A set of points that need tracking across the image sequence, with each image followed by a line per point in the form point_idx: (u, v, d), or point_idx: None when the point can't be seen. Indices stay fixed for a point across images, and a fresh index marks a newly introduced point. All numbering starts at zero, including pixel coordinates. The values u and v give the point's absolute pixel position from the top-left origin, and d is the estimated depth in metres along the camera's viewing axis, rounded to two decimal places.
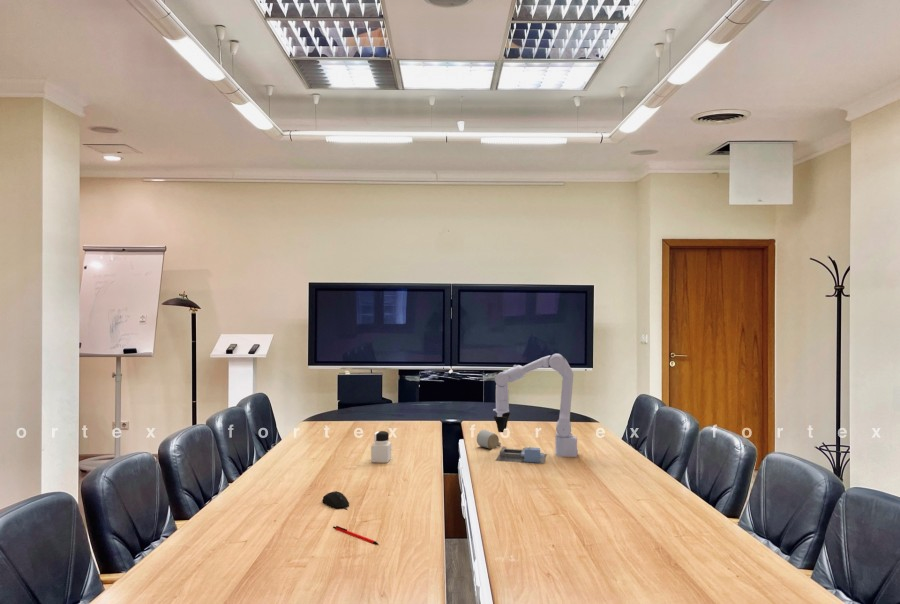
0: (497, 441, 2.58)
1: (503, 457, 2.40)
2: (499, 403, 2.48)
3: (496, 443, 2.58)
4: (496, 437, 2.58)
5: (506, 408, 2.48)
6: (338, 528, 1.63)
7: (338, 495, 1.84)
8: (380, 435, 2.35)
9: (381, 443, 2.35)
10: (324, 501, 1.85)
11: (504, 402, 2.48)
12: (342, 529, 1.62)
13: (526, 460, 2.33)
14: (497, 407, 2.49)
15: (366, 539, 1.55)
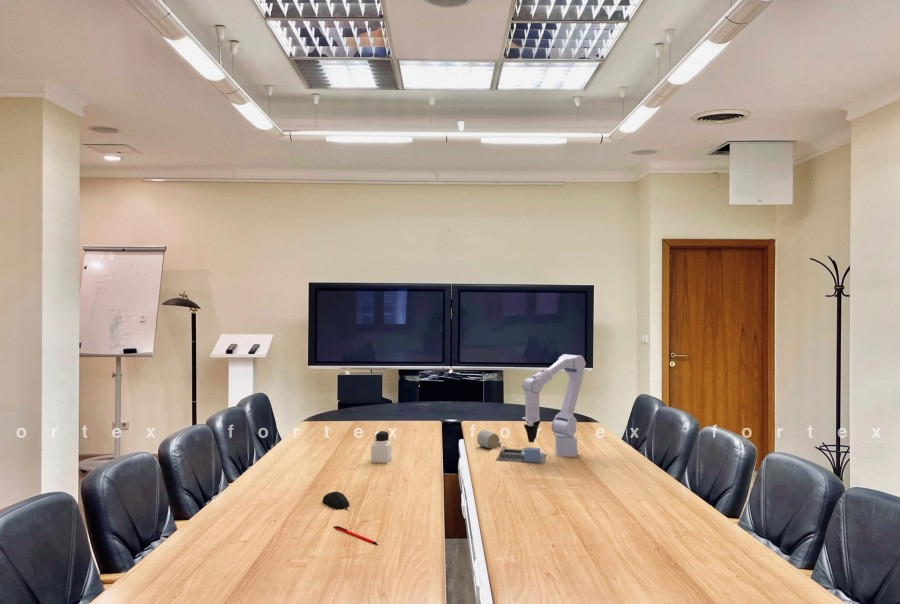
0: (497, 441, 2.59)
1: (503, 457, 2.40)
2: (529, 411, 2.32)
3: (496, 443, 2.58)
4: (496, 437, 2.58)
5: (537, 416, 2.32)
6: (338, 528, 1.63)
7: (338, 495, 1.83)
8: (380, 435, 2.35)
9: (381, 443, 2.35)
10: (324, 501, 1.84)
11: (535, 410, 2.32)
12: (342, 529, 1.62)
13: (526, 460, 2.33)
14: (527, 415, 2.33)
15: (366, 539, 1.55)
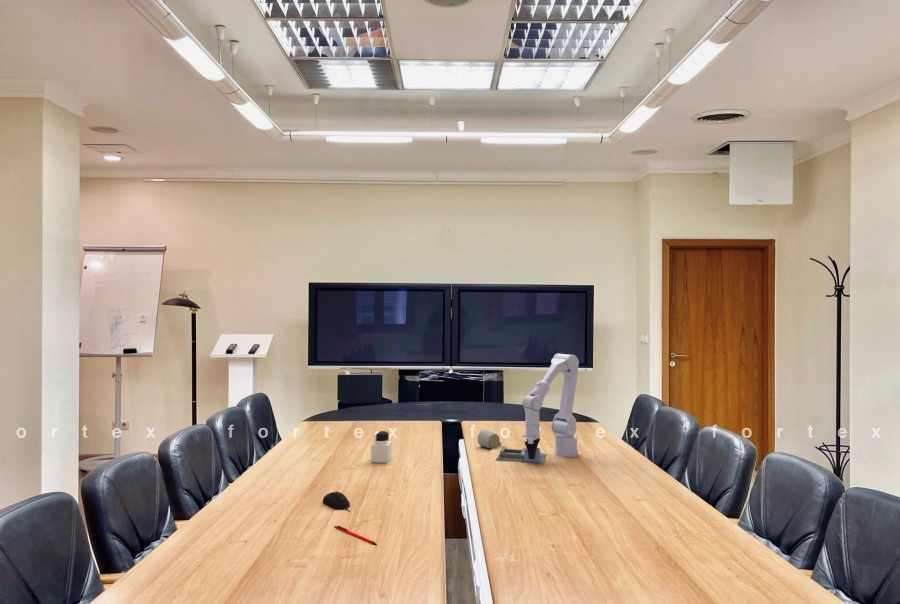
0: (498, 441, 2.59)
1: (503, 457, 2.40)
2: (529, 429, 2.32)
3: (497, 443, 2.58)
4: (497, 437, 2.58)
5: (537, 434, 2.32)
6: (339, 528, 1.63)
7: (339, 495, 1.83)
8: (380, 435, 2.35)
9: (381, 443, 2.35)
10: (325, 501, 1.84)
11: (535, 427, 2.32)
12: (343, 529, 1.62)
13: (526, 460, 2.33)
14: (527, 433, 2.33)
15: (365, 539, 1.55)
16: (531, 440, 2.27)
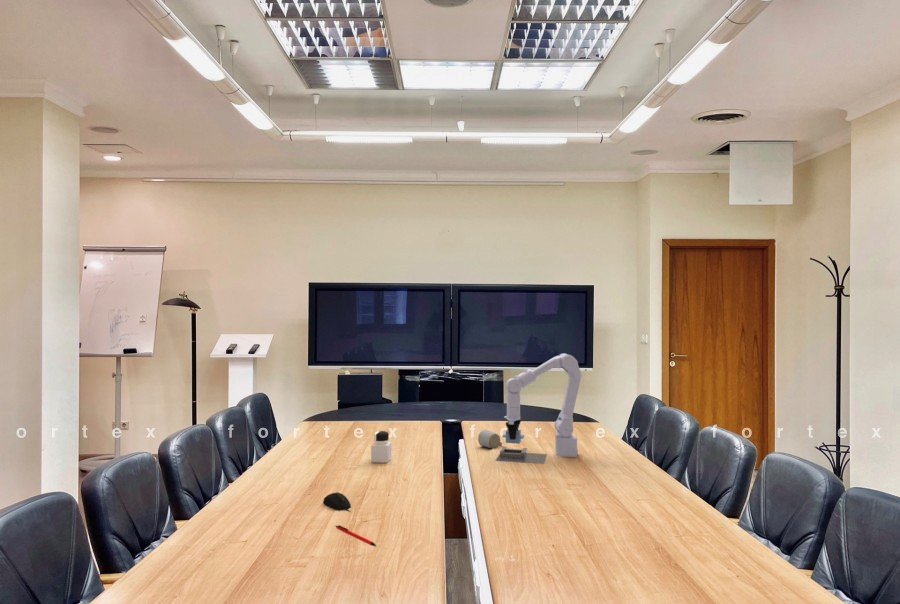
0: (498, 441, 2.59)
1: (503, 457, 2.40)
2: (510, 410, 2.42)
3: (497, 443, 2.59)
4: (497, 437, 2.58)
5: (517, 415, 2.42)
6: (340, 527, 1.63)
7: (339, 496, 1.82)
8: (380, 435, 2.35)
9: (381, 443, 2.35)
10: (325, 502, 1.83)
11: (515, 409, 2.42)
12: (343, 529, 1.62)
13: (507, 441, 2.43)
14: (508, 414, 2.43)
15: (364, 540, 1.55)
16: (511, 421, 2.37)
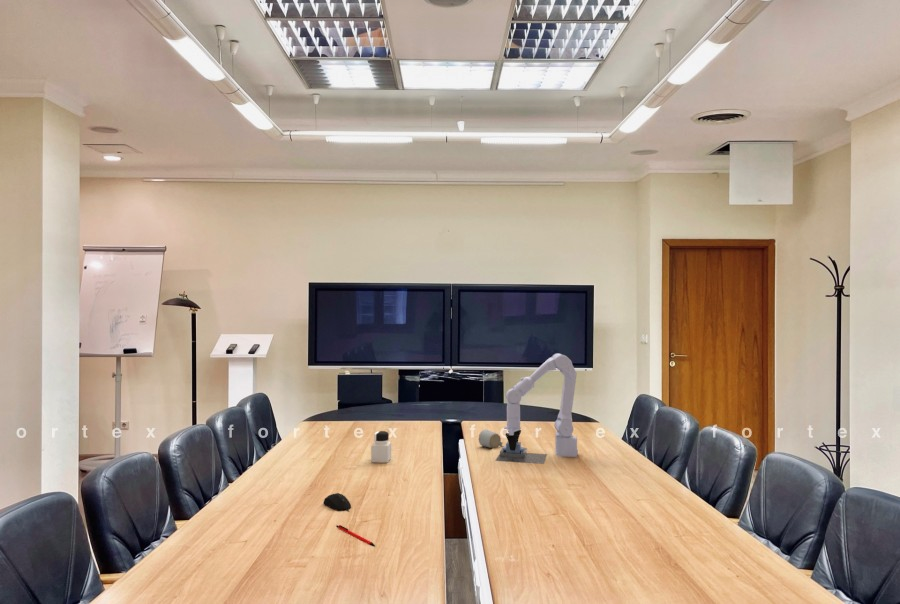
0: (499, 441, 2.59)
1: (503, 457, 2.40)
2: (510, 421, 2.42)
3: (498, 443, 2.59)
4: (498, 437, 2.59)
5: (518, 426, 2.42)
6: (340, 527, 1.63)
7: (340, 497, 1.82)
8: (380, 435, 2.35)
9: (381, 443, 2.35)
10: (325, 503, 1.83)
11: (516, 420, 2.42)
12: (344, 528, 1.62)
13: None
14: (508, 425, 2.43)
15: (364, 540, 1.55)
16: (512, 432, 2.37)
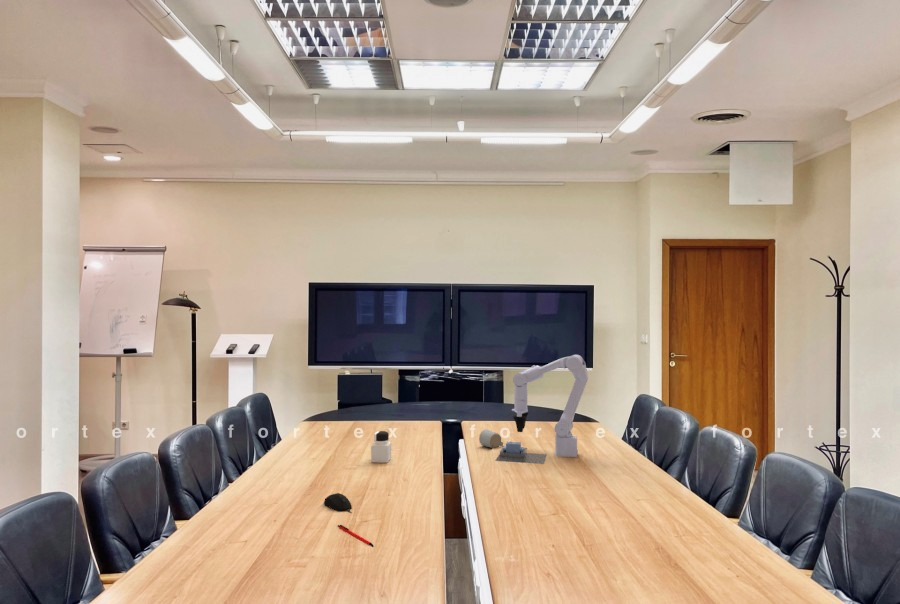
0: (499, 441, 2.59)
1: (503, 457, 2.40)
2: (518, 403, 2.50)
3: (498, 443, 2.59)
4: (498, 437, 2.59)
5: (525, 408, 2.50)
6: (341, 527, 1.64)
7: (340, 497, 1.81)
8: (380, 435, 2.35)
9: (381, 443, 2.35)
10: (326, 503, 1.82)
11: (523, 402, 2.50)
12: (344, 528, 1.62)
13: None
14: (516, 407, 2.51)
15: (363, 540, 1.55)
16: (520, 413, 2.45)
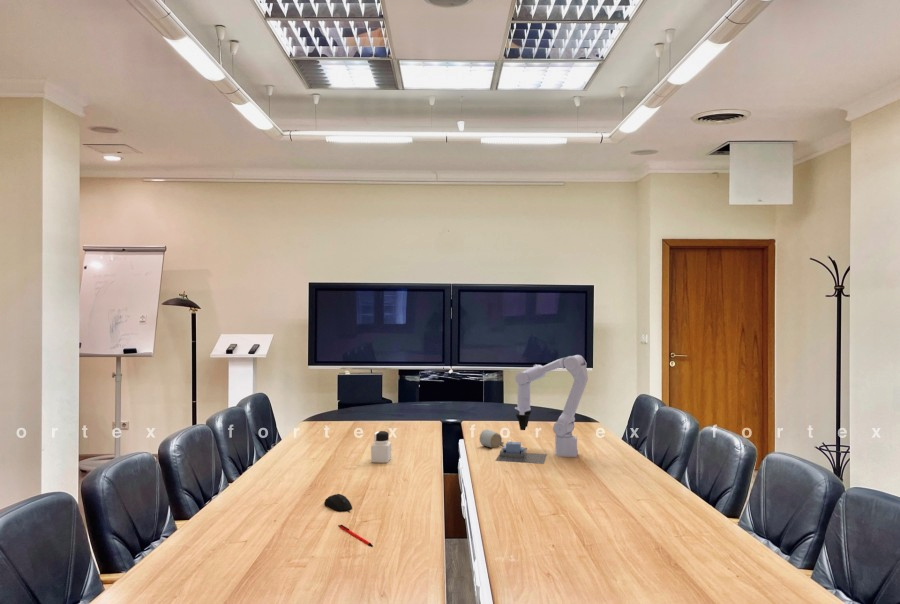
0: (500, 440, 2.60)
1: (503, 457, 2.40)
2: (521, 402, 2.53)
3: (499, 442, 2.59)
4: (499, 436, 2.59)
5: (528, 406, 2.53)
6: (342, 527, 1.64)
7: (341, 498, 1.81)
8: (380, 435, 2.35)
9: (381, 443, 2.35)
10: (326, 504, 1.82)
11: (526, 400, 2.53)
12: (345, 528, 1.62)
13: None
14: (519, 405, 2.54)
15: (363, 540, 1.54)
16: (522, 411, 2.48)
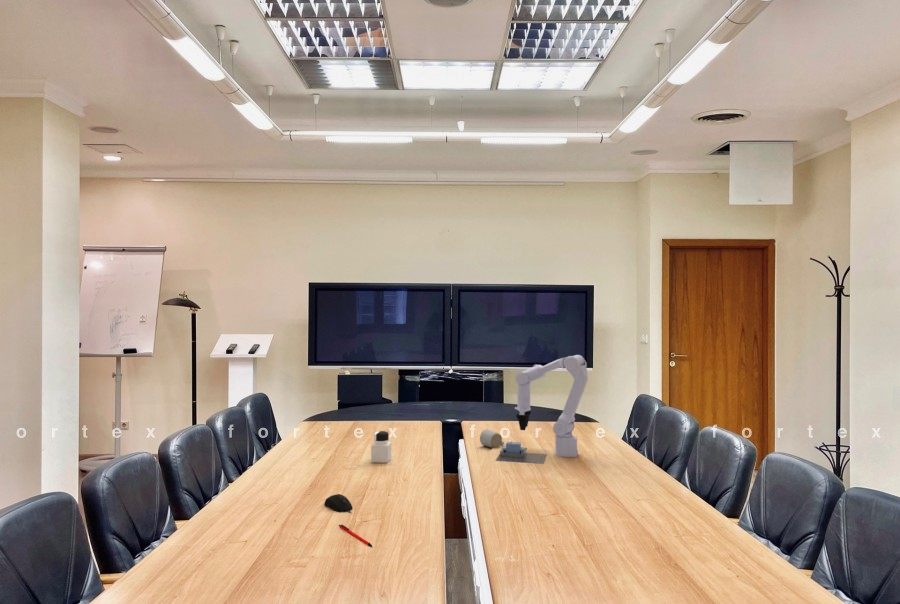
0: (500, 440, 2.60)
1: (503, 457, 2.40)
2: (521, 402, 2.53)
3: (499, 442, 2.59)
4: (499, 436, 2.59)
5: (528, 406, 2.53)
6: (342, 527, 1.64)
7: (341, 498, 1.81)
8: (380, 435, 2.35)
9: (381, 443, 2.35)
10: (326, 504, 1.82)
11: (526, 400, 2.53)
12: (345, 528, 1.63)
13: None
14: (519, 405, 2.54)
15: (362, 540, 1.54)
16: (522, 411, 2.48)
